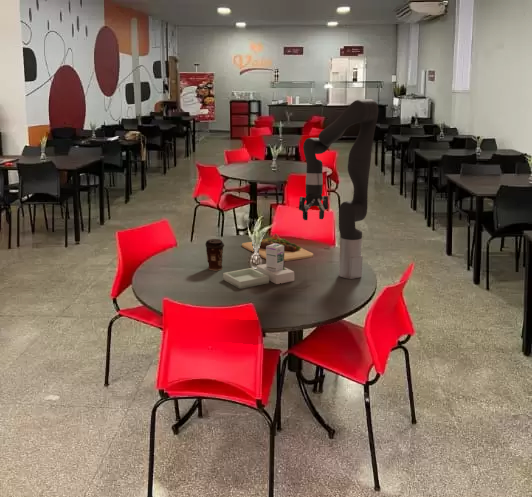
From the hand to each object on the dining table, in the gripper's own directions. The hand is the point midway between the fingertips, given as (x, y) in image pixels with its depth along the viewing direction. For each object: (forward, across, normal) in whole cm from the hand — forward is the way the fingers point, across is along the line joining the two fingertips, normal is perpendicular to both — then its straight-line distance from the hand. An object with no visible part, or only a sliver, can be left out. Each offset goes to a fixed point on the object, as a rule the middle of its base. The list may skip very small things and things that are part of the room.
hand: (313, 219), depth 291 cm
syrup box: (+24, -22, -4) cm, 33 cm away
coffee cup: (+22, -39, +20) cm, 49 cm away
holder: (+23, -22, -4) cm, 33 cm away
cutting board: (+20, 0, +32) cm, 37 cm away
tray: (+24, -36, -3) cm, 43 cm away
